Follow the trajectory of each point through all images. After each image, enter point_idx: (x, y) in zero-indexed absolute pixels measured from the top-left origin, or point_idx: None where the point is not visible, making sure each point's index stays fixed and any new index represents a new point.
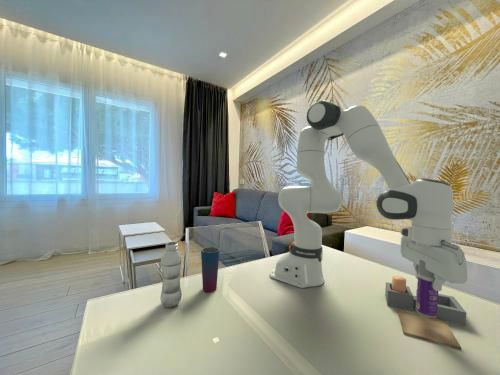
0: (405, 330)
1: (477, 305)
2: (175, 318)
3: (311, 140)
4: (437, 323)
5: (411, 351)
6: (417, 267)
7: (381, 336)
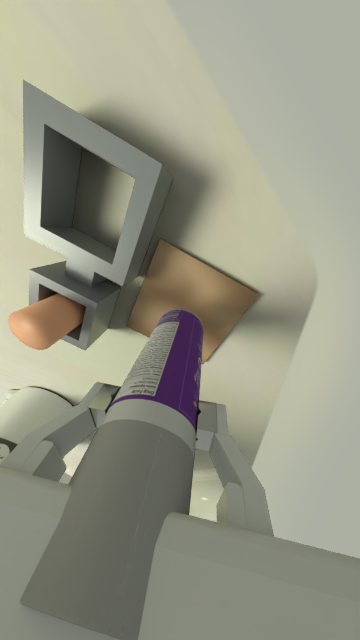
0: None
1: None
2: None
3: None
4: (174, 274)
5: (244, 378)
6: (58, 450)
7: (207, 393)
